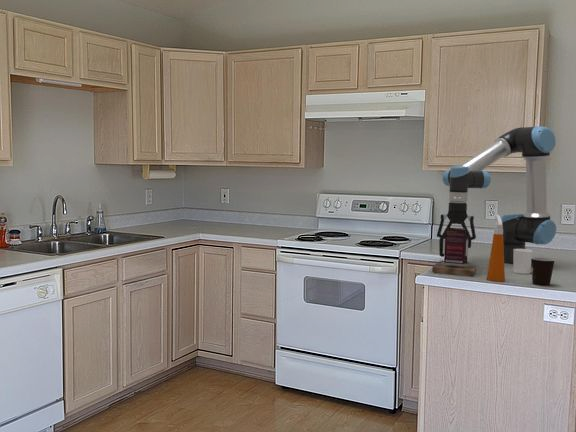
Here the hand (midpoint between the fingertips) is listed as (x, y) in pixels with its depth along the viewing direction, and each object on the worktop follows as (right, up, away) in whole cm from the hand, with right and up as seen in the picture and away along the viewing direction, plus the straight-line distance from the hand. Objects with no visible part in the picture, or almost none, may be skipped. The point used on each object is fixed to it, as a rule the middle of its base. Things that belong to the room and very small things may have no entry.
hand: (455, 254), depth 258 cm
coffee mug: (+30, -11, -19) cm, 37 cm away
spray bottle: (+13, -10, -12) cm, 20 cm away
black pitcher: (+8, -6, +25) cm, 27 cm away
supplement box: (0, -5, 0) cm, 5 cm away
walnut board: (0, -8, +1) cm, 8 cm away
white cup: (+30, -8, +5) cm, 32 cm away
